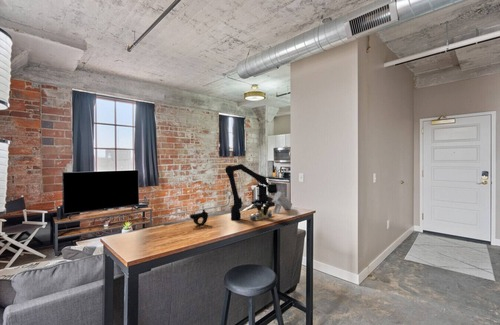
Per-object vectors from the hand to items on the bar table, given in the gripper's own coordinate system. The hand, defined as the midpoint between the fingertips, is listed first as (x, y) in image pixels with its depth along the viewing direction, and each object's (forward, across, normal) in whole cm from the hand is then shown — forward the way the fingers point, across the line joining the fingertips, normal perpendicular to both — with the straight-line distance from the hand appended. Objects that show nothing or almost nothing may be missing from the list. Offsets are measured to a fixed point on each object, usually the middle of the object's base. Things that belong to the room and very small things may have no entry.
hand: (262, 214), depth 180 cm
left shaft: (+3, +2, +7) cm, 8 cm away
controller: (+3, +18, +42) cm, 46 cm away
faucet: (+3, +6, -29) cm, 30 cm away
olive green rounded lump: (+2, 0, 0) cm, 2 cm away
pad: (+3, 0, 0) cm, 3 cm away
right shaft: (+3, +2, -7) cm, 8 cm away
